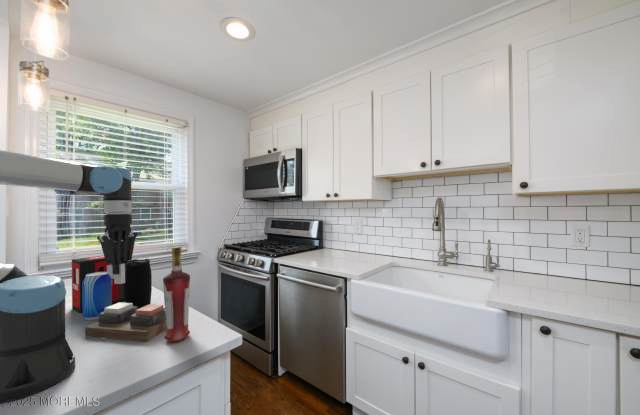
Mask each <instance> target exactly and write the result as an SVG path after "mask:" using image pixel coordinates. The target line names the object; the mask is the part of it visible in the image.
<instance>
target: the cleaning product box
mask: <svg viewBox="0 0 640 415" xmlns="http://www.w3.org/2000/svg"><path fill="white" fill-rule="evenodd" d="M126 264H127V263H126ZM96 272H108V274H109V275H110V277H111V278H112V305H114V304H117V303H119V302H121V303H125V283H123V284H114V274H113V271H112V265H110V264H106V261H105V258H104V255H98V256H96V255H95V256H91V257H82V258H75V259H71V304H72V305H71V306H72V307H71V309H72V310H73V311H75V312H77V313H79V314H83V311H82V282H83V280H84V279H85V277H86V275H87V274H90V273H96Z"/></svg>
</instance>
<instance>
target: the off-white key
mask: <svg viewBox="0 0 640 415" xmlns="http://www.w3.org/2000/svg"><path fill="white" fill-rule="evenodd" d="M131 308H133V303H125V302H122V303H121V302H119V303H117V304H114V305H111V306H109V307H106V308H104V313H110V314H120V313H122V312H124V311H127V310H129V309H131Z"/></svg>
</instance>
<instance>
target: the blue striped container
mask: <svg viewBox="0 0 640 415" xmlns="http://www.w3.org/2000/svg"><path fill="white" fill-rule="evenodd" d="M111 305H112V278H111V277H110V275H109V274H108V272H96V273H90V274H87V275H86V277H85V279H84V280H83V282H82V311H83V313H82V318H84V320H86V321H97V320H99V316H98V314H100V313H101V312H104V308H106V307H109V306H111Z"/></svg>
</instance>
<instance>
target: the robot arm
mask: <svg viewBox="0 0 640 415" xmlns="http://www.w3.org/2000/svg"><path fill="white" fill-rule="evenodd" d="M132 182H133V180H132V175H131V170H130V169H129V168H126V167H122V166H111V165H103V164H102V165H92V164H86V163H79V162H75V161H68V160H61V159H56V158H49V157H42V156H38V155H37V156H36V155H32V154H25V153H20V152H19V153H18V152H13V151H7V150H0V185H1V186H12V187H13V186H15V187H22V188H23V187H27V188H35V189H38V188H39V189H45V190H46V189H49V190H53V191H54V193H56V194H57V195H64V196H103V213H105V214H104V215H103V222H104V226H105V230H104V232H103V234H101V235H98V236H97V237H96V238H97V240H98V242H99V243H100V247H101V250H102V253H103V256H104V258H105V261H106V264H110V265H112V271H113V274H114V284H123V283H125V272H126V263H129V260H133V259H132V258H133V253H134V249H135V242H136V238H137V236H138V232H135V231H133V230H132V227H131V225H132V224H133V214H131V212H132V210H133V208H132ZM66 294H67V289H66V286H65V281H64V279H62V278H61V277H59V276H56V275H43V274H42V275H41V274H40V275H39V274H38V275H37V274H36V275H28V274H27V273H25V271H23V270H21V269H20V268H19V267H18V266H16V265H15V264H14V263H0V403H5V402H11V401H14V400H18V399H22V398H25V397H26V398H27V397H28V396H31V395H34V394H37V393H40V392H43V391H44V390H46V389H48V388H51V387H53V386H55V385H56V384H59V383H60V382H62V381H63V380H64V379H66V378H68V377H69V376H70V375H71V374H72V373H73V372H74V371H75V369H76V358H75V354H74V353H73V351H72V348H71V347H70V345H69V343H68V341H67V338H66Z"/></svg>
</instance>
